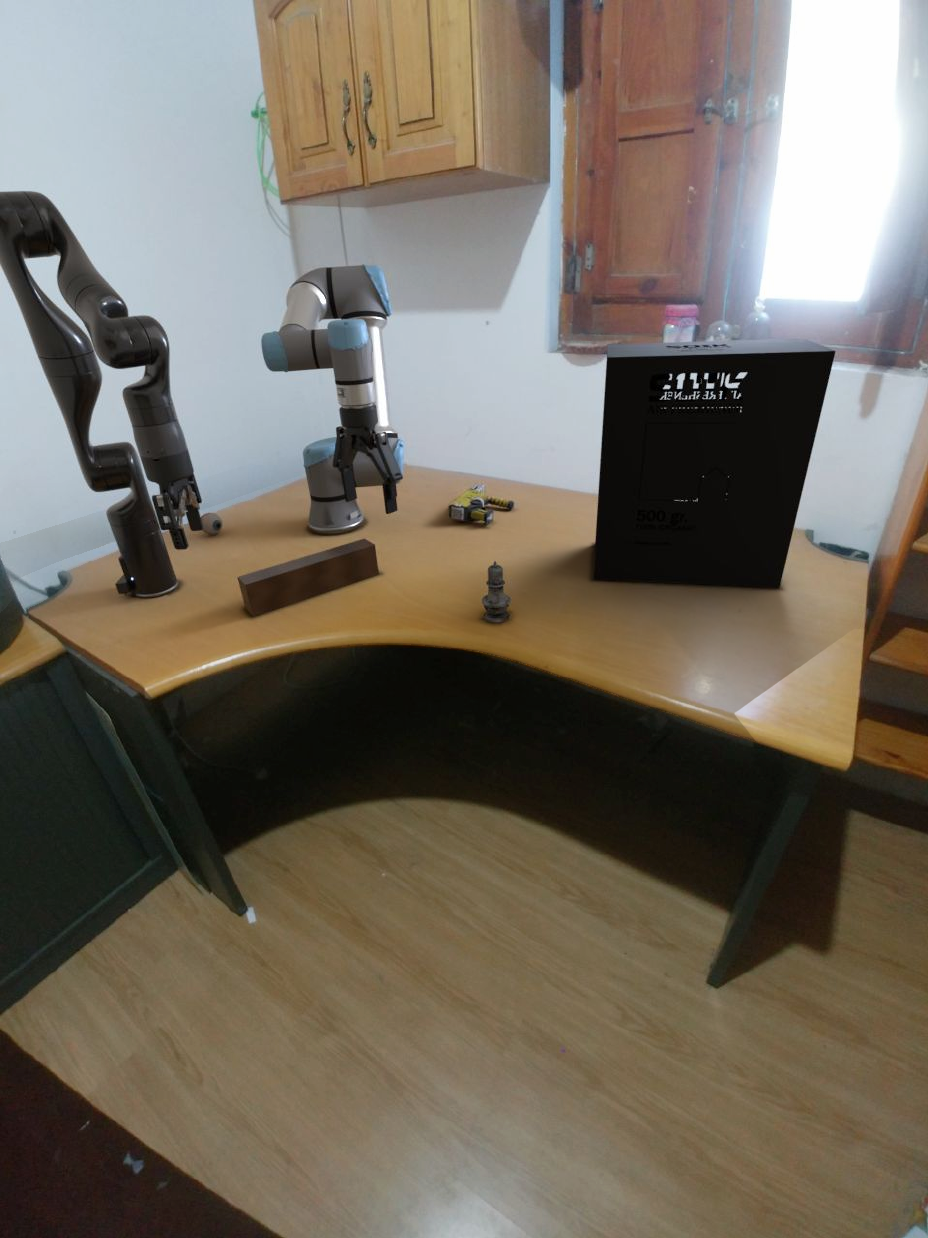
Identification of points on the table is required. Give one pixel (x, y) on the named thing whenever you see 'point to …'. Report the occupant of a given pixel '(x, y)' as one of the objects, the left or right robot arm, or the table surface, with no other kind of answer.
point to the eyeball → (211, 523)
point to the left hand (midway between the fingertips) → (190, 539)
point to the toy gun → (475, 505)
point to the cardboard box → (706, 459)
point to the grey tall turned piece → (496, 596)
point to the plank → (308, 576)
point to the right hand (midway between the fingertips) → (371, 506)
